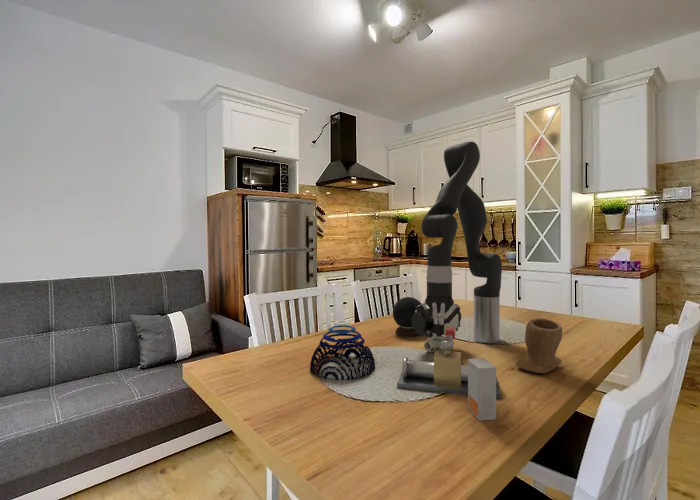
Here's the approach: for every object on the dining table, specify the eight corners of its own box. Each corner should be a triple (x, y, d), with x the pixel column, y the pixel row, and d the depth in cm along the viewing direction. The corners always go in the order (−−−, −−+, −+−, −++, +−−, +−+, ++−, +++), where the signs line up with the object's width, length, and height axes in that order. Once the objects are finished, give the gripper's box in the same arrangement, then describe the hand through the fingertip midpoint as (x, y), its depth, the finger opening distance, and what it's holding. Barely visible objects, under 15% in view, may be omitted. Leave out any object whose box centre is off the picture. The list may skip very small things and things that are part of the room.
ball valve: (429, 359, 120) (428, 305, 119) (411, 352, 127) (410, 301, 126) (465, 349, 130) (465, 299, 129) (446, 343, 137) (446, 296, 136)
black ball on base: (429, 331, 153) (429, 296, 152) (417, 339, 142) (417, 301, 141) (400, 327, 160) (400, 293, 159) (387, 334, 149) (387, 298, 148)
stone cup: (551, 380, 101) (551, 327, 101) (509, 368, 111) (510, 319, 110) (573, 367, 111) (573, 318, 110) (533, 357, 120) (533, 312, 119)
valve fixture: (403, 371, 110) (403, 339, 109) (496, 380, 102) (496, 346, 102) (397, 387, 98) (396, 352, 98) (500, 399, 91) (501, 360, 90)
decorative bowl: (382, 360, 120) (381, 316, 120) (364, 384, 101) (364, 333, 101) (326, 354, 127) (325, 313, 126) (299, 376, 108) (298, 328, 107)
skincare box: (467, 408, 86) (467, 358, 86) (484, 407, 87) (484, 357, 86) (478, 421, 80) (478, 367, 80) (497, 420, 81) (497, 367, 80)
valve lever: (445, 334, 114) (445, 326, 114) (456, 334, 113) (456, 327, 113) (441, 350, 99) (440, 341, 99) (453, 351, 98) (453, 342, 98)
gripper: (462, 279, 113) (462, 334, 114) (419, 277, 117) (419, 331, 118) (461, 282, 106) (461, 341, 107) (415, 281, 110) (415, 337, 111)
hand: (439, 335), depth 112 cm, fingers closed
